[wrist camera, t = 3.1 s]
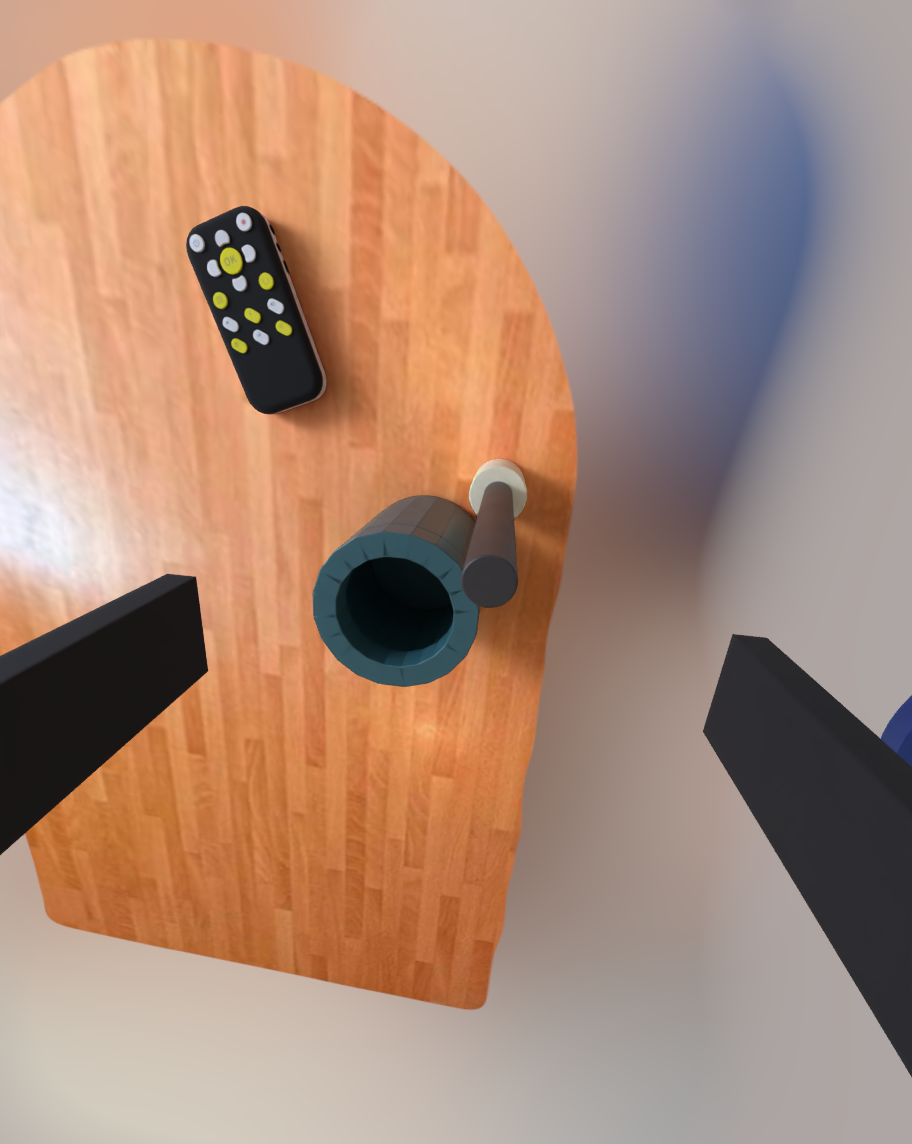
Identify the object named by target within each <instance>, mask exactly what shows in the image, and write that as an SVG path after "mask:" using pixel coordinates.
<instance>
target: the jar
mask: <svg viewBox="0 0 912 1144" xmlns="http://www.w3.org/2000/svg"><path fill="white" fill-rule="evenodd" d="M474 527H475V521H474V520H473V519H472V517H471V516H470V515H469V514H468V513H467V512H466V511H464V510H463V509H462V508H461V507H459V506H458V505H456V504H454V503H452V502H450V501H448V500H446V499H443V498H439V497H434V496H423V495H421V496H412V497H408V498H405V499H402V500H400V501H397V502H396V503H394V504H392V505H391V506H389V507H388V508H387V509H385V510H383V511H382V512H381V513H380V514H378V515H377V516H376V517H375V518H374V519H372V520H371V521H370V522H369V523H368V524H366V525H365V526H364V527H363V528H362V529H360V530H359V531H358V532H357V533H356V534H354V535H353V536H352V537H351V538H350V539H348V540H347V541H346V542H345V543H344V544H342V545H341V546H340V547H339V548H338V549H336V550H335V551H334V552H333V554H332V555H331V556H330V557H329V559H328V560H327V561H326V562H325V564H324V565H323V566H322V568H321V569H320V571H319V574H318V577H317V581H316V584H315V587H314V590H313V615H314V620H315V622H316V625H317V628H318V631H319V633H320V636H321V639H323V641H324V643H325V644H326V645H327V647H328V648H329V649H330V651H331V652H332V653H333V655H334V656H335V658H337V660H338V661H339V662H341V663H342V664H343V665H345V666H346V667H347V668H349V669H350V670H351V671H352V672H354V673H355V674H357V675H359V676H361V677H364V678H366V679H368V680H371V681H373V682H376V683H378V684H385V685H393V686H401V687H407V686H414V685H420V684H427V683H430V682H432V681H434V680H436V679H438V678H440V677H442V676H444V675H446V674H448V673H449V672H451V671H452V670H453V669H454V668H455V667H456V666H457V665H458V664H459V663H460V662H461V661H462V660H463V659H464V658H465V657H466V656H467V654H468V652H469V650H470V648H471V646H472V644H473V641H474V639H475V637H476V634H477V628H478V620H479V613H480V606H479V605H476V604H475V603H473V602H472V601H470V600H469V599H468V598H467V596H466V595H465V593H464V592H463V589H462V586H461V575H462V571H463V568H464V564H465V560H466V557H467V553H468V549H469V546H470V542H471V538H472V534H473V531H474Z"/></svg>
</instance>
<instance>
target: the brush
mask: <svg viewBox="0 0 912 1144" xmlns="http://www.w3.org/2000/svg"><path fill="white" fill-rule="evenodd" d="M469 499H470V503H471V506H472V508H473V510H474V512H475V513H476V514H477V515H478V516H477V520H476V523H475V527H474V531H473V534H472V538H471V542H470V546H469V549H468V553H467V557H466V560H465V564H464V568H463V571H462V575H461V586H462V589H463V592H464V593H465V595H466V596H467V598H468V599H469V600H470V601H472V602H473V603H475V604H476V605H479V606H482V607H487V608H493V607H498V606H501V605H503V604H505V603H507V602H508V601H509V600H510V599H511V598H512V597H513V595H514V594H515V592H516V590H517V586H518V574H517V558H516V542H515V526H514V518H516V517H517V516H518V515H519V514H520V513H521V512H522V510H523V508H524V506H525V504H526V500H527V489H526V484H525V480H524V476H523V474H522V472H521V470H520V469H519V467H518V466H517V465H516V464H514V463H513V462H511V461H509V460H506V459H494V460H490V461H488V462H486V463H485V464H483V465H482V466H481V467H480V469H479V470H478V471H477V473H476V475H475V478H474V480H473V482H472V484H471V487H470V492H469Z"/></svg>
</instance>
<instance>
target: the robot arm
mask: <svg viewBox="0 0 912 1144" xmlns="http://www.w3.org/2000/svg"><path fill="white" fill-rule="evenodd" d="M207 672H208V667H207V659H206V651H205V643H204V635H203V627H202V620H201V612H200V604H199V596H198V588H197V580H196V577H192V576H183V575H174V574H166V575H164V576H162V577H160V578H158V579H156V580H154V581H152V582H150V583H148V584H146V585H144V586H142V587H140V588H138V589H136V590H134V591H132V592H129V593H127V594H125V595H123V596H121V597H119V598H117V599H115V600H113V601H111V602H109V603H107V604H105V605H103V606H101V607H99V608H97V609H95V610H93V611H91V612H89V613H87V614H85V615H83V616H81V617H79V618H77V619H75V620H73V621H71V622H69V623H67V624H65V625H62V626H60V627H58V628H56V629H54V630H52V631H50V632H48V633H46V634H44V635H42V636H40V637H38V638H36V639H34V640H32V641H30V642H28V643H26V644H24V645H22V646H20V647H18V648H16V649H14V650H12V651H10V652H8V653H6V654H4V655H2V656H0V855H1V854H2V853H3V852H4V851H5V850H7V849H8V848H9V847H10V846H11V845H12V844H13V843H14V842H16V841H17V840H18V839H19V838H20V837H21V836H22V835H24V834H25V833H26V832H27V831H28V830H29V829H30V828H31V827H33V826H34V825H35V824H36V823H37V822H38V821H39V820H40V819H42V818H43V817H44V816H45V815H46V814H47V813H48V812H50V811H51V810H52V809H53V808H54V807H55V806H56V805H57V804H59V803H60V802H61V801H62V800H63V799H64V798H65V797H66V796H68V795H69V794H70V793H71V792H72V791H73V790H74V789H75V788H77V787H78V786H79V785H80V784H81V783H82V782H83V781H85V780H86V779H87V778H88V777H89V776H90V775H91V774H92V773H94V772H95V771H96V770H97V769H98V768H99V767H100V766H101V765H103V764H104V763H105V762H106V761H107V760H108V759H109V758H111V757H112V756H113V755H114V754H115V753H116V752H117V751H118V750H120V749H121V748H122V747H123V746H124V745H125V744H126V743H127V742H129V741H130V740H131V739H132V738H133V737H134V736H135V735H136V734H138V733H139V732H140V731H141V730H142V729H143V728H144V727H146V726H147V725H148V724H149V723H150V722H151V721H152V720H153V719H155V718H156V717H157V716H158V715H159V714H160V713H161V712H162V711H164V710H165V709H166V708H167V707H168V706H169V705H170V704H171V703H173V702H174V701H175V700H176V699H177V698H178V697H179V696H181V695H182V694H183V693H184V692H185V691H186V690H187V689H188V688H190V687H191V686H192V685H193V684H194V683H195V682H196V681H197V680H199V679H200V678H201V677H202V676H203V675H204V674H205V673H207ZM703 732H704V734H705V736H706V737H707V739H708V741H709V742H710V744H711V746H712V747H713V749H714V751H715V752H716V754H717V756H718V757H719V759H720V761H721V762H722V764H723V766H724V767H725V769H726V770H727V772H728V774H729V775H730V777H731V779H732V780H733V782H734V784H735V785H736V787H737V789H738V790H739V792H740V794H741V795H742V797H743V798H744V800H745V802H746V804H747V805H748V806H749V809H750V810H751V812H752V814H753V815H754V817H755V819H756V820H757V822H758V823H759V825H760V827H761V828H762V830H763V832H764V833H765V835H766V837H767V838H768V840H769V842H770V843H771V845H772V847H773V848H774V850H775V852H776V853H777V855H778V856H779V858H780V860H781V861H782V863H783V865H784V866H785V868H786V870H787V871H788V873H789V874H790V876H791V878H792V880H793V881H794V883H795V884H796V886H797V888H798V889H799V891H800V893H801V895H802V896H803V898H804V899H805V901H806V903H807V905H808V906H809V908H810V909H811V911H812V913H813V914H814V916H815V918H816V919H817V921H818V923H819V924H820V926H821V928H822V929H823V931H824V933H825V934H826V936H827V938H828V939H829V941H830V943H831V944H832V946H833V948H834V949H835V951H836V953H837V954H838V956H839V958H840V959H841V961H842V962H843V964H844V966H845V967H846V969H847V971H848V972H849V974H850V976H851V977H852V979H853V981H854V982H855V984H856V986H857V987H858V989H859V991H860V992H861V994H862V995H863V997H864V999H865V1000H866V1002H867V1004H868V1005H869V1007H870V1009H871V1010H872V1012H873V1014H874V1015H875V1017H876V1019H877V1020H878V1022H879V1024H880V1025H881V1027H882V1029H883V1030H884V1032H885V1034H886V1035H887V1037H888V1039H889V1040H890V1042H891V1044H892V1045H893V1047H894V1048H895V1050H896V1052H897V1053H898V1055H899V1056H900V1058H901V1060H902V1062H903V1063H904V1065H905V1067H906V1068H907V1070H908V1072H909V1073H910V1075H911V1077H912V766H910V765H909V764H908V763H907V762H906V761H905V760H904V759H903V758H901V757H900V756H899V755H898V754H897V753H896V752H895V751H894V750H892V749H891V748H890V747H889V746H888V745H887V744H886V743H885V742H883V741H882V740H881V739H880V738H879V737H878V736H877V735H876V734H874V733H873V732H872V731H871V730H870V729H869V728H868V727H867V726H865V725H864V724H863V723H862V722H861V721H860V720H859V719H858V718H856V717H855V716H854V715H853V714H852V713H851V712H849V710H847V709H846V708H845V707H844V706H843V705H842V704H841V703H840V702H838V701H837V700H836V699H835V698H834V697H833V696H832V695H831V694H829V693H828V692H827V691H826V690H825V689H824V688H823V687H821V686H820V685H819V684H818V683H817V682H816V681H815V680H814V679H813V678H811V677H810V676H809V675H808V674H807V673H806V672H805V671H804V670H802V669H801V668H800V667H799V666H798V665H797V664H796V663H794V662H793V661H792V660H791V659H790V658H789V657H788V656H787V655H786V654H784V653H783V652H782V651H781V650H780V649H779V648H777V646H775V645H774V644H773V643H772V642H771V641H770V640H769V639H768V638H763V637H753V636H744V635H735V634H733V635H732V638H731V641H730V645H729V648H728V651H727V655H726V658H725V661H724V664H723V667H722V671H721V674H720V677H719V680H718V684H717V687H716V690H715V694H714V697H713V700H712V703H711V707H710V710H709V713H708V716H707V720H706V723H705V726H704V730H703Z"/></svg>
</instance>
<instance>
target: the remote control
mask: <svg viewBox="0 0 912 1144" xmlns="http://www.w3.org/2000/svg"><path fill="white" fill-rule="evenodd" d="M186 246H187V253H188V256H189V259H190V261H191V264H192V266H193V269H194V271H195V274H196V276H197V278H198V281H199V283H200V286H201V288H202V290H203V293H204V295H205V298H206V300H207V302H208V305H209V307H210V310H211V312H212V314H213V317H214V319H215V322H216V324H217V326H218V329H219V331H220V334H221V336H222V338H223V341H224V343H225V346H226V348H227V350H228V353H229V355H230V358H231V360H232V362H233V365H234V367H235V370H236V372H237V374H238V377H239V379H240V382H241V384H242V386H243V389H244V391H245V394H246V396H247V398H248V400H249V402H250V404H251V405H252V406H253V407H254V408H255V409H256V410H257V411H259V412H261V413H264V414H277V413H281V412H283V411H286V410H289V409H292V408H295V407H298V406H300V405H303V404H306V403H309V402H312V401H315V400H316V399H318V398H320V397H321V396H322V395H323V393H324V391H325V388H326V375H325V372H324V369H323V366H322V364H321V361H320V358H319V355H318V353H317V350H316V347H315V344H314V342H313V339H312V336H311V333H310V331H309V328H308V325H307V322H306V320H305V317H304V314H303V311H302V309H301V306H300V303H299V300H298V298H297V295H296V292H295V289H294V286H293V284H292V281H291V278H290V275H289V271H288V268H287V265H286V263H285V261H284V259H283V256H282V253H281V249H280V247H279V245H278V242H277V240H276V237H275V232H274V230H273V228H272V226H271V225H270V223H269V222H268V220H267V219H266V218H265V217H264V216H263V215H262V214H261V213H259V212H258V211H257V210H255V209H253V208H251V207H248V206H240V207H237V208H234V209H232V210H230V211H228V212H226V213H223V214H221V215H219V216H217V217H215V218H212V219H210V220H208V221H206V222H204V223H202V224H199V225H197V226H196V227H194V228H193V229H192V230H191V231H190V233H189V235H188V238H187V244H186Z"/></svg>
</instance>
